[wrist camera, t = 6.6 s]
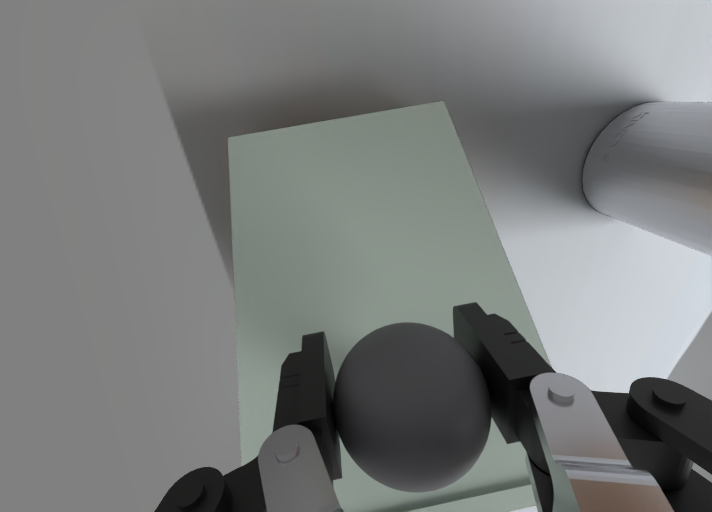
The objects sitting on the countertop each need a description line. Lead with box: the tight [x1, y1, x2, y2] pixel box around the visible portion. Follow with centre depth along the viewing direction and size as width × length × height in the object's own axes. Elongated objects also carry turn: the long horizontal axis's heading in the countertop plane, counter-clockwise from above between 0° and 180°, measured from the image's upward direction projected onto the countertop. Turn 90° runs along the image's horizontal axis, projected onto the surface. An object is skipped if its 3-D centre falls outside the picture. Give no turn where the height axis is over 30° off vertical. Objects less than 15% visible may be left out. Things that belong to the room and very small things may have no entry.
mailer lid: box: [228, 101, 551, 512], centre depth 14 cm, size 19×12×9 cm
